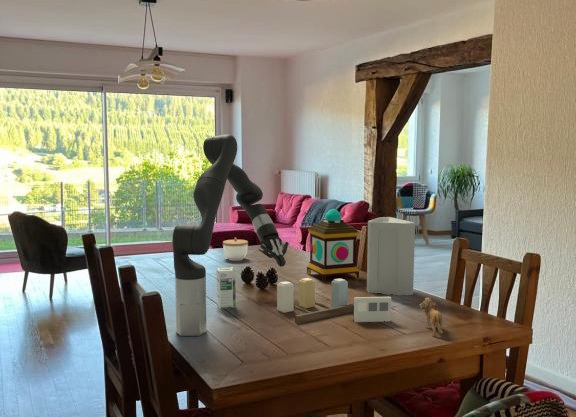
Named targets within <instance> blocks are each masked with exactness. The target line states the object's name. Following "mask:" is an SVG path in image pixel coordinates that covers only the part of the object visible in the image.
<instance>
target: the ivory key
mask: <svg viewBox="0 0 576 417" xmlns="http://www.w3.org/2000/svg"><path fill="white" fill-rule="evenodd" d="M276 288H277V289H276V310H277V311H279V312H281V313H289V312H294V308H293V305H294V300H295V299H294V297H295V296H294V293H295V292H294V284H293V283H292V282H290V281H279V282H278V283H276Z"/></svg>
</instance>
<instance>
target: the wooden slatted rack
mask: <svg viewBox="0 0 576 417" xmlns="http://www.w3.org/2000/svg"><path fill="white" fill-rule="evenodd" d="M316 305H317V306H319V307H323V308H324V309H320V310H316V311H310V310H307V309H306V308H303V307H301V306H299V305H298V306H297V305H295V304H293V309H294V310H295V309H296V310H297V311H301V312H303V313H301V314H296V315H294V323H295V324H297V325H298V324H303V323H307V322H311V321H317V320H321V319H325V318H331V317H334V316H338V315H339V316H340V315H344V314H349V313H354V303H350V304H347V305H344V306H339V307H332V306H329V305H326V304H323V303H322V302H321V303H320V302H318V301H315V306H316Z"/></svg>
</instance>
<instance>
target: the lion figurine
mask: <svg viewBox="0 0 576 417" xmlns="http://www.w3.org/2000/svg"><path fill="white" fill-rule="evenodd" d="M419 307H420V309H421V310H424V313H425V315H426V322H427V325H426V326H425V328H427V329H430V328H432V331H433V333H432V337H436V336H437V330H438V333H439V335H440V337H441V338H444V331H443V316H442V314H441V312H440V311H439V307H438V305H437V303H436V302H435V300H434V299H432V298H431V297H424V300H423V301H422V302H421V303H419ZM436 328H437V330H436Z"/></svg>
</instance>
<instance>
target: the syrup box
mask: <svg viewBox="0 0 576 417" xmlns="http://www.w3.org/2000/svg"><path fill="white" fill-rule="evenodd" d="M236 298H237V296H236V270H235V268H234V267H233V266H231V267H220V268H219V267H217V268H216V300H217V302H216V304H217V306H218V308H219V309H220V310H222V309H235V308H237V307H236V306H237V305H236Z"/></svg>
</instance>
